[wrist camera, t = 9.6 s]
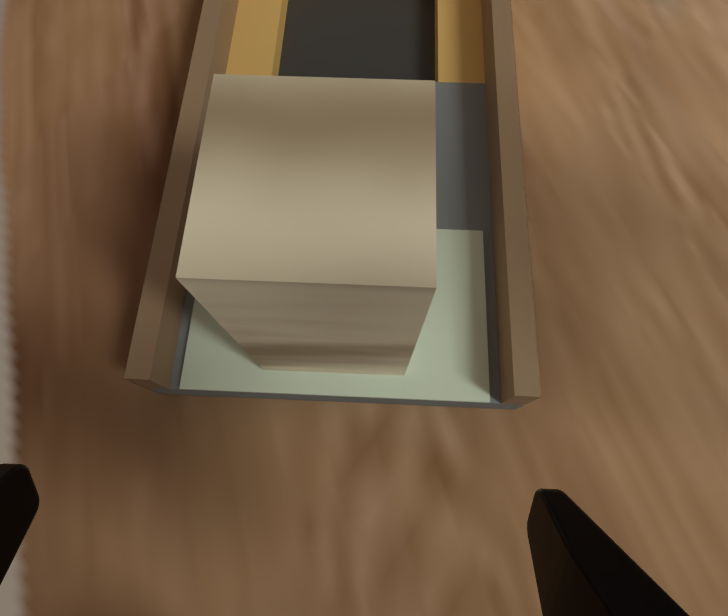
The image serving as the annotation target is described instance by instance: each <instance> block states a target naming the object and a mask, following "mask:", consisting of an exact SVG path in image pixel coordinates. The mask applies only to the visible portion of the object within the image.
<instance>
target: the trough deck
mask: <svg viewBox="0 0 728 616" xmlns="http://www.w3.org/2000/svg"><path fill="white" fill-rule="evenodd" d="M214 74H230V75H264V76H297V77H331V78H365V79H398V80H432V81H435V109H436V252H437V288H436V291H435V294H434V297H433V299H432V302H431V305H430V308H429V310H428V313H427V316H426V318H425V321H424V324H423V327H422V329H421V332H420V335H419V338H418V340H417V343H416V346H415V349H414V351H413V354H412V357H411V359H410V362H409V365H408V368H407V370H406V373H405V376H397V375H373V374H349V373H325V372H301V371H277V370H263V369H262V368H261V367H260V366H259V365H258V364H257V363H256V362H255V361H254V360H253V359H252V358H251V356H250V355H249V354H248V353H247V352H246V351H245V350H244V349H243V348H242V347H241V346H240V345H239V344H238V343H237V342H236V341H235V340H234V339H233V338H232V336H231V335H230V334H229V333H228V332H227V331H226V330H225V329H224V328H223V327H222V326H221V325H220V324H219V323H218V322H217V321H216V320H215V319H214V318H213V317H212V315H211V314H210V313H209V312H208V311H207V310H206V309H205V308H204V307H203V306H202V305H201V304H200V303H199V302H198V301H197V300H196V299H195V298H194V297H193V296H192V294H191V293H190V292H189V291H188V290H187V289H186V288H185V287H184V286H183V285H182V284H181V283H180V282H179V281H178V280H177V279H176V273H177V267H178V262H179V257H180V251H181V246H182V241H183V235H184V230H185V225H186V219H187V214H188V209H189V203H190V198H191V193H192V187H193V182H194V177H195V171H196V166H197V161H198V155H199V150H200V145H201V139H202V134H203V129H204V123H205V118H206V113H207V108H208V102H209V97H210V92H211V86H212V81H213V76H214ZM124 379H126V380H128V381H131V382H133V383H135V384H138V385H140V386H143V387H145V388H148V389H150V390H152V391H155V392H157V393H160V394H178V395H201V396H223V397H246V398H268V399H291V400H314V401H336V402H359V403H382V404H404V405H427V406H449V407H472V408H495V409H516V408H519V407H521V406H523V405H525V404H527V403H529V402H531V401H534V400H536V399H538V398H540V397H541V388H540V375H539V362H538V349H537V336H536V323H535V310H534V297H533V284H532V271H531V258H530V245H529V232H528V219H527V206H526V193H525V180H524V167H523V154H522V141H521V128H520V115H519V102H518V89H517V76H516V63H515V50H514V37H513V23H512V10H511V0H204V2H203V6H202V11H201V16H200V20H199V25H198V30H197V35H196V39H195V44H194V49H193V53H192V58H191V63H190V68H189V72H188V77H187V82H186V87H185V91H184V96H183V101H182V105H181V110H180V115H179V120H178V124H177V129H176V134H175V138H174V143H173V148H172V153H171V157H170V162H169V167H168V171H167V176H166V181H165V186H164V190H163V195H162V200H161V205H160V209H159V214H158V219H157V223H156V228H155V233H154V238H153V242H152V247H151V252H150V256H149V261H148V266H147V271H146V275H145V280H144V285H143V290H142V294H141V299H140V304H139V308H138V313H137V318H136V323H135V327H134V332H133V337H132V341H131V346H130V351H129V356H128V360H127V365H126V370H125V374H124Z"/></svg>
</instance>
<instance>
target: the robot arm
mask: <svg viewBox="0 0 728 616" xmlns="http://www.w3.org/2000/svg"><path fill="white" fill-rule="evenodd" d="M38 506H39V495H38V493H37V490H36V487H35V485H34V482H33V479H32V477H31V474H30V471H29V469H28V468H27V467H26V466H25V465H22V464H0V584H1V583H2V580H3V578H4V576H5V575H6V573H7V571H8V569H9V567H10V565H11V563H12V561H13V559H14V557H15V555H16V553H17V551H18V549H19V547H20V545H21V543H22V541H23V539H24V537H25V534H26V532H27V530H28V528H29V526H30V524H31V522H32V520H33V518H34V516H35V514H36V512H37V510H38ZM527 532H528V539H529V544H530V550H531V555H532V560H533V566H534V571H535V576H536V582H537V587H538V593H539V598H540V603H541V609H542V614H543V616H689V615H688V614H687V613H686V612H685V611H684V610H683V609H682V608H681V607H680V606H679V605H678V604H677V603H676V602H675V601H674V600H673V599H672V598H671V597H670V596H669V595H668V594H667V593H666V592H665V591H664V590H663V589H662V588H661V587H660V586H659V585H658V584H657V583H656V582H655V581H654V580H653V579H652V578H651V577H650V576H649V575H648V574H647V573H646V572H644V571H643V570H642V569H641V568H640V567H639V566H638V565H637V564H636V563H635V562H634V561H633V560H632V559H631V558H630V557H629V556H628V555H627V554H626V553H625V552H624V551H623V550H622V549H621V548H620V547H619V546H618V545H617V544H616V543H615V542H614V541H613V540H612V539H611V538H610V537H609V536H608V535H607V534H606V533H605V532H604V531H603V530H602V529H601V528H600V527H599V526H598V525H597V524H596V523H595V522H594V521H593V520H592V519H591V518H590V517H589V516H588V515H587V514H586V513H585V512H584V511H583V510H582V509H581V508H580V507H579V506H578V505H576V504H575V503H574V502H573V501H572V500H571V499H570V498H569V497H568V496H567V495H566V494H565V493H564V492H563V491H561V490H558V489H538V490H537V491H536V492H535V495H534V498H533V502H532V506H531V510H530V514H529V517H528V522H527Z"/></svg>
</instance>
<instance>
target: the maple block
mask: <svg viewBox="0 0 728 616" xmlns="http://www.w3.org/2000/svg"><path fill="white" fill-rule="evenodd" d="M176 279H177V280H178V281H179V282H180V283H181V284H182V285H183V286H184V287H185V288H186V289H187V290H188V291H189V292H190V293H191V294H192V296H193V297H194V298H195V299H196V300H197V301H198V302H199V303H200V304H201V305H202V306H203V307H204V308H205V309H206V310H207V311H208V312H209V313H210V314H211V315H212V317H213V318H214V319H215V320H216V321H217V322H218V323H219V324H220V325H221V326H222V327H223V328H224V329H225V330H226V331H227V332H228V333H229V334H230V335H231V336H232V338H233V339H234V340H235V341H236V342H237V343H238V344H239V345H240V346H241V347H242V348H243V349H244V350H245V351H246V352H247V353H248V354H249V355H250V356H251V358H252V359H253V360H254V361H255V362H256V363H257V364H258V365H259V366H260V367H261V368H262V369H263V370H277V371H301V372H325V373H349V374H373V375H397V376H405V373H406V370H407V368H408V365H409V362H410V359H411V357H412V354H413V351H414V349H415V346H416V343H417V340H418V338H419V335H420V332H421V329H422V327H423V324H424V321H425V318H426V316H427V313H428V310H429V308H430V305H431V302H432V299H433V297H434V294H435V291H436V288H437V252H436V109H435V81H432V80H398V79H365V78H331V77H297V76H264V75H230V74H214V76H213V81H212V86H211V92H210V97H209V102H208V108H207V113H206V118H205V123H204V129H203V134H202V139H201V145H200V150H199V155H198V161H197V166H196V171H195V177H194V182H193V187H192V193H191V198H190V203H189V209H188V214H187V219H186V225H185V230H184V235H183V241H182V246H181V251H180V257H179V262H178V267H177V273H176Z"/></svg>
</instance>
